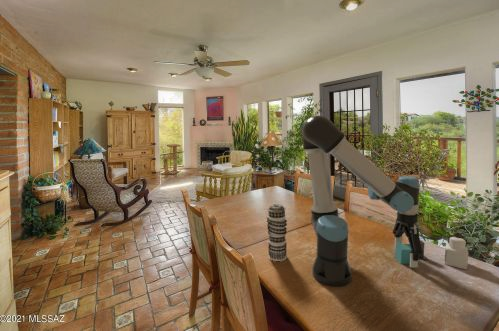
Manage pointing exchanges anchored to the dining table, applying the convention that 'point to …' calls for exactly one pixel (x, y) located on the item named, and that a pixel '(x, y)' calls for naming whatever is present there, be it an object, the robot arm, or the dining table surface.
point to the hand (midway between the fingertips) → (405, 258)
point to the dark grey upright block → (421, 256)
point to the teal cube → (402, 253)
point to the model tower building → (277, 232)
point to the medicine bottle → (456, 252)
